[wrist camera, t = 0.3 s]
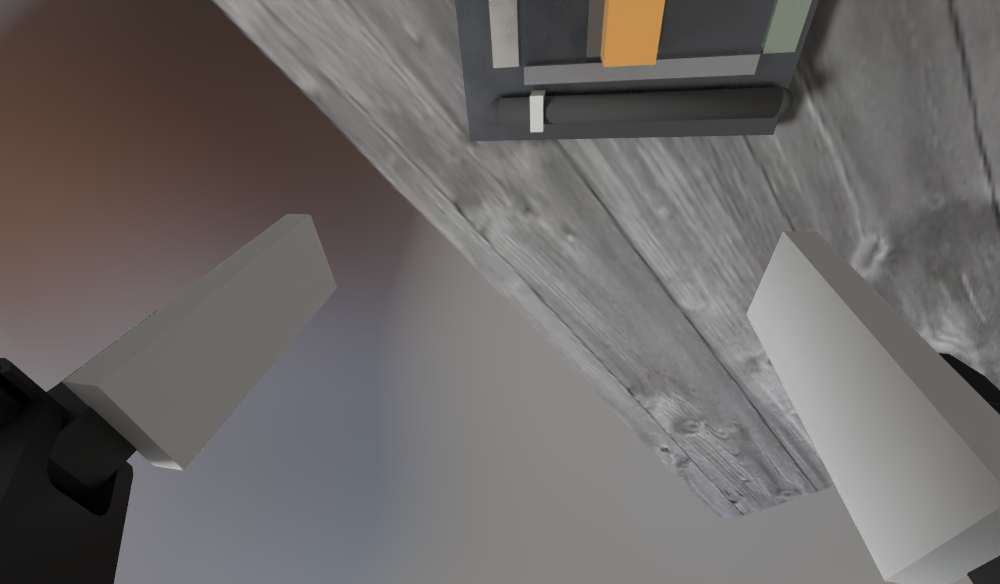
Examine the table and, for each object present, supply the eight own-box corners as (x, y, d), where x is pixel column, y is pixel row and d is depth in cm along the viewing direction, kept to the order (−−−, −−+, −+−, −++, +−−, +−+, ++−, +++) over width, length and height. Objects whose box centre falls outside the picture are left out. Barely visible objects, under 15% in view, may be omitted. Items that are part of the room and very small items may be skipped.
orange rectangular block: (589, -14, 26) (591, -15, 21) (668, -21, 25) (688, -24, 21) (586, 55, 29) (586, 68, 24) (657, 51, 28) (673, 63, 23)
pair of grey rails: (475, -98, 25) (466, -106, 23) (868, -149, 21) (896, -163, 19) (492, 125, 33) (486, 133, 31) (777, 117, 29) (791, 125, 27)
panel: (450, -115, 26) (436, -126, 23) (860, -172, 22) (896, -192, 19) (475, 134, 36) (467, 145, 33) (763, 127, 31) (779, 139, 29)
